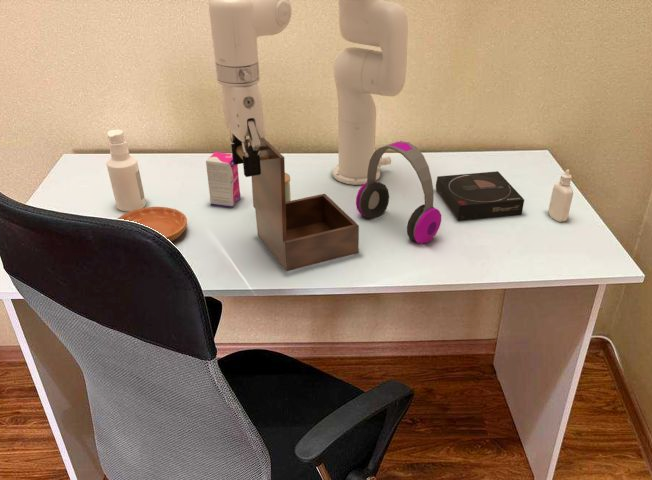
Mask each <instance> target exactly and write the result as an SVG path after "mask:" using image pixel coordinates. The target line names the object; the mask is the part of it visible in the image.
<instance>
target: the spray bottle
mask: <svg viewBox="0 0 652 480" xmlns="http://www.w3.org/2000/svg"><path fill="white" fill-rule="evenodd" d="M106 134H107V139H108V142H107V143H108V147H109V154H110V157H111V158H108V160H107V161H106V168H107V172H108V177H109V179H110V180H109V181H110V184H111V189H112V193H113V197H114V201H115V205H116V209H118V210H120V211H122V212H130V211H133V210H137V209H141V208H145V206H146V204H147V202H146V197H145V192H144V186H143V182H142V178H141V173H140V168H139V164H138V159H137V158H136V157H134V156H133V155H130V151H129V148H128V143H127V140H126V138H125V135H124V131H123V129H111V130H108V131H107V133H106Z"/></svg>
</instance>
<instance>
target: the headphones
mask: <svg viewBox="0 0 652 480" xmlns="http://www.w3.org/2000/svg"><path fill="white" fill-rule="evenodd" d="M387 150H392V151H393V150H394V151H395V152H397V153H399V154H400V155H402V156H403V157H404V158H405V160H407V161H408V163H409V164H410V165H411V166H412V168H413V170H414V171H415V174H416V175H417V178H418V180H419V182H420V184H421V188H422V191H423V197H424V204H421V205H420V206H418V207H417V208H416V209H414V211H413V212H412V213H411V215H410V217H409V219H408V222H407V225H406V235H407V237H408V238H409V239H410V241H413V242H414V241H415V242H416V243H417V244H422V245H424V244H428V243H429V242H430V241H432V240H433V239H434V237H435V236H436V235H437V233H438V231H439V230H440V227H441V223H442V213H441V211H440V210H439V209H438V208H436V207H435V206H434V193H435V192H434V186H433V178H432V175H431V170H430V166H429V164H428V162H427V160H426V158H425V156H424V154H423V153H422V152H421V150H420V149H419V148H418V147H417V146H416V145H414V144H412V143H410V142H409V141H402V140H399V141H396V142H392V143H389V144H386V145H383V146H381V147H378V148H377V150H375V152H374V153H373V155H372V157H371V159H370V162H369V166H368V174H367V182H366V183H365V184H361V186H360V188H359V189H358V192H357V195H356V198H355V206H356V210H357V212H358V213H359V214H360V215H361V216H363V217H365V218H367V219H369V220H371V219H376V218H379V217H381V216H382V215H383V214H384V213H385V212H386V210H387V208H388V207H389V206H388V205H389V203H390V193H389V189H388V187H387V185H386V184H384V183H382V182H381V181H377V180H376V173H377V167H378V164H379V161H380V158H381V157H382V158H383V155H384V154H385V153H386V152H387Z"/></svg>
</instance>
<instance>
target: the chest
mask: <svg viewBox="0 0 652 480" xmlns="http://www.w3.org/2000/svg"><path fill="white" fill-rule="evenodd" d="M254 210H255V221H256V232H257V236H258V237H259V238H260V240H261V241H262V242H263V244H264V245H265V246H266V247H267V248H268V249H269V251H270V252H271V253H272V255H273V256H274V257H275V259H276V260H277V261H278V262H279V264H281V266H282V267H283V268H284V270H285V271H286V272H289V271H292V270H296V269H300V268H303V267H309V266H311V265H315V264H319V263H323V262H324V263H325V262H327V261H332V260H335V259H340V258H343V257H348V256H351V255H355V254H359V251H360V250H359V249H360V247H359V245H360V236H359V235H360V225H359V224H358V223H357V222H356V221H355V220H354V219H353V218H352V217H350V216H349V215H348V213H346V212H345V211H344V210H343V209H342V208H341V207H340V206H339V205H338V204H337V203H336V202H335V201H334V200H333V199H331V197H329V196H328V195H327V194H326V193H320V194H315V195H311V196H307V197H302V198H297V199H291V201H288V202H286V241H282V240H281V239H280V237H279V236H278V235H277V234H276V233H275V232H274V230H273V229H272V228H271V227H270V226H269V225H268V223H267V222H266V221H265V220H264V219H263V217H262V216H261V215H260V214H259V213H258V212H257V210H256V209H255V208H254Z"/></svg>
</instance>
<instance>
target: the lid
mask: <svg viewBox="0 0 652 480" xmlns="http://www.w3.org/2000/svg"><path fill="white" fill-rule="evenodd" d="M265 138H266V137H265ZM265 138H264V139H261V138H260V137H259V140H260V143H261V146H260V149H259V151H260V166H261V174H260V175H255V176H251V191H252V206H253V209H254V210H255V209H256V210H257V212H258V213H259V214H260V215H261V216H262V217H263V219H264V220H265V221H266V222H267V223H268V225H269V226H270V227H271V228H272V229H273V230H274V232H275V233H276V234H277V235H278V236H279V237H280V239H281V240H282V241H286V202H285V173H286V167H285V165H286V164H285V163H286V162H285V156H284V155H283V154H281V152H279V151H278V149H276V147H274V145H272V144H271V143H270V142H269V141H268V140H267V139H265ZM248 139H250V136H248ZM250 145H251V142H249V146H250ZM247 149H248V148H247ZM236 153H237V154H238V156H239V157H240V158H241V159H242V160H243V157H242V156H244V152H243V147H242V145H240V146H238V147H237V148H236Z"/></svg>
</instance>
